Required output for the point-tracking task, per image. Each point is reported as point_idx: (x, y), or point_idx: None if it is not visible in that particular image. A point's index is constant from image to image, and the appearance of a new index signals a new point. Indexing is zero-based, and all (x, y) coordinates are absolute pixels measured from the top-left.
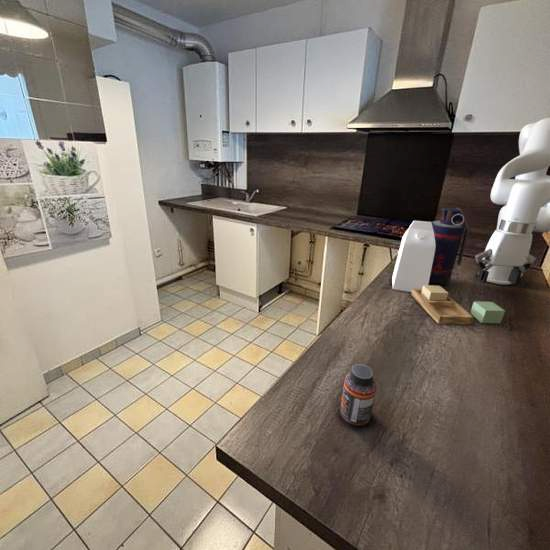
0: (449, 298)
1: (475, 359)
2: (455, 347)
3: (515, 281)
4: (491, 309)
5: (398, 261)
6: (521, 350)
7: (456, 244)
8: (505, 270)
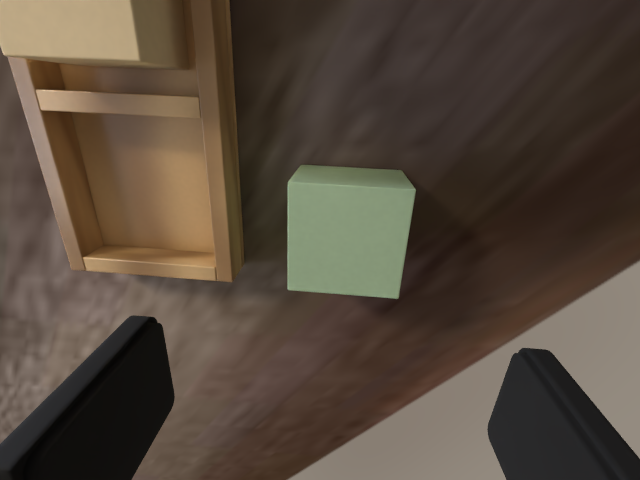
0: (197, 51)
1: None
2: None
3: (500, 463)
4: (328, 281)
5: None
6: (320, 402)
7: None
8: None
